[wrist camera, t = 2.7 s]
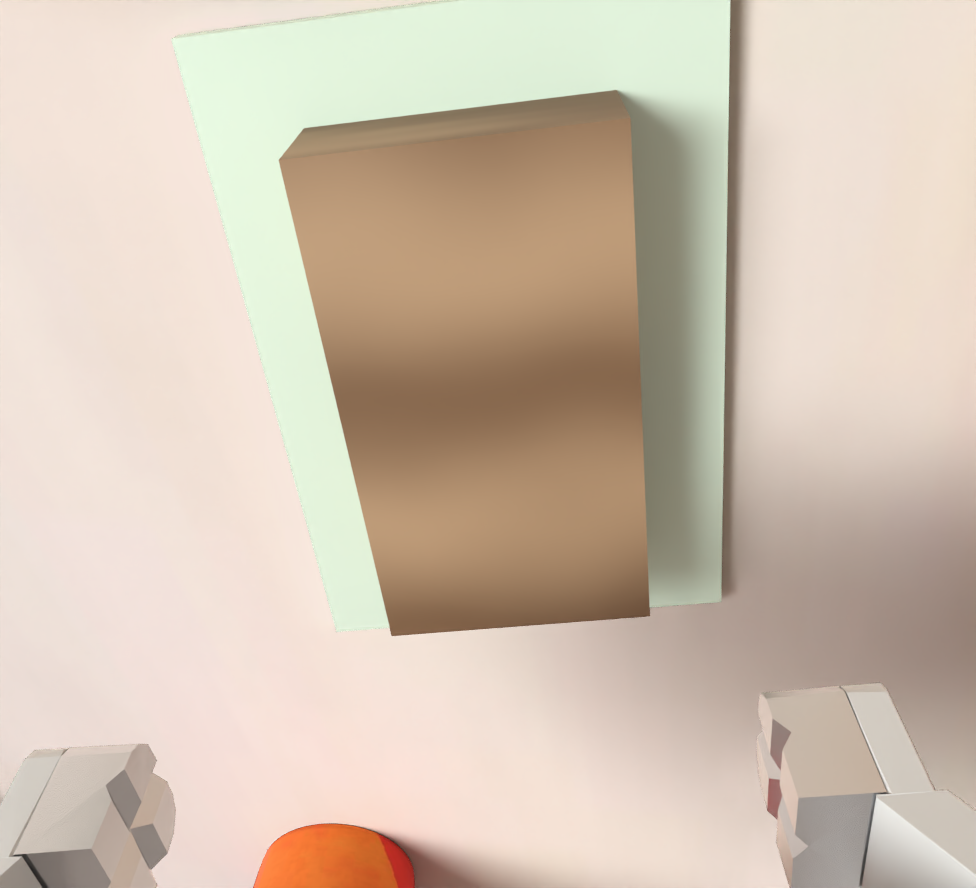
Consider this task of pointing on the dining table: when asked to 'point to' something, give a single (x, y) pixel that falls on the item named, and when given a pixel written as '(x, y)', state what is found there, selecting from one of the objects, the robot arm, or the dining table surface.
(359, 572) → the mat
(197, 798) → the dining table surface
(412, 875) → the paper cup
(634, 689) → the dining table surface
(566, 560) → the walnut block
